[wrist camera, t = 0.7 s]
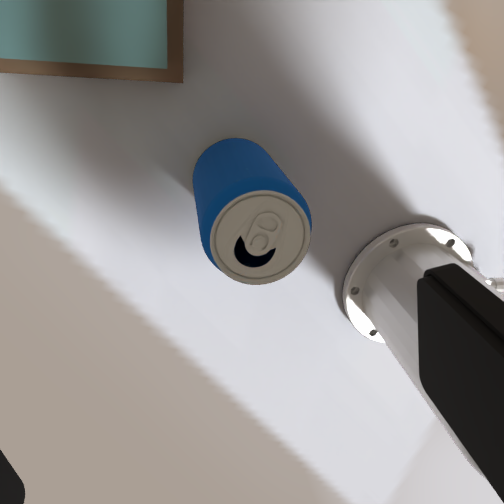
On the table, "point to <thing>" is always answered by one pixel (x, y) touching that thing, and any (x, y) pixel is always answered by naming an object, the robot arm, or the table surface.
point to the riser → (93, 38)
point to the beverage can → (249, 213)
